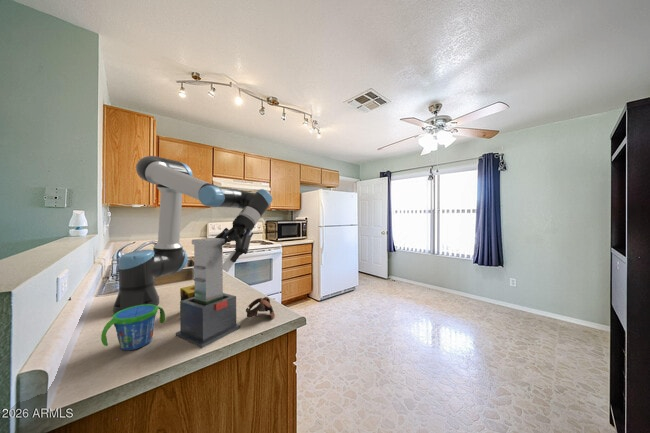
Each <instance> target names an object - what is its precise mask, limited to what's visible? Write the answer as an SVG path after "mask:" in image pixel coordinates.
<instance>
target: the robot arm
mask: <svg viewBox="0 0 650 433" xmlns="http://www.w3.org/2000/svg"><path fill="white" fill-rule="evenodd" d="M135 170H136V173H137V176H138V177H139V178H141V180H143V181H145V182H147V183H149V184H153V185H156V188H157V190H159V191H160V199H159V200H160V201H159V214H158V232H157V243H156V244H154V245H153V249H140V250H133V251H130V252H127V253H124V254H122V255H121V256H120V257H119V259H118V266H117V269H118V294H117V296H116V298H115V302H114V303H113V308H112V309H113V310H112V311H113V313H114V314H115V313H117V312H119V311H121V310H123V309H126V308H129V307H133V306H138V305H146V304H152V305H156V306H158V305H159V304H160V296H159V294H158V292H157V289H156V287H155V279H156V278H160V277H162V276H167V275H172V274H175V273H177V272H180V271H182V270H183V269H184V268H185V267H186V265H187V263H188V253H187V252H186V251H187V250H185V249H184V248H183V247H184V246H183V245H182V244H181V243H180V238H181V236H180V235H181V234H180V233H181V222H182V207H183V206H182V205H183V195H186V196H189V197H191V198H192V199H195V200H198V201H199V202H200V203H201V204H202V205H203V206H205V207H210V208H230V209H231V208H233V209H234V208H237V209H241V211H240V212H239V213H238V214H237V216H236V217H235V218H234V219H233V221H232V227H231V228H230V229H228V227H224V229H223V230H222V231H221V232H220V233H219V234H218V235H216V236H214V238H221V239H225V243H222V246H224V245H226V244H227V243H230V242H235V248H233V249H234V250H232V251H231V253H230V254H229V255H228V257H227V258H226V260H224V262H222V266H221V268H222V269H223V271H225V273H228V272H229V271H230V269H231V268H233V266H234V264H235V263H236V262H237V260H238V259H239V257H240V256H243V254H244V255H246V254H248V252H249V247H250V244H251V239H252V237H253V235H254V232H253V229H254V228H255V226H256V224H257V223H258V222H259V221H260V219H261V218H262V216H263V215H264V214H265V212H266V211H267V209H269V207H270V205H271V203H273V196H272V194H271V192H269V191H268V190H266V189H262V188H261V189H258V190H257V191H256V192H255V193H254V192H250V191H249V192H248V191H244V190H242V189H238V188H231V187H230V188H227V187H221V186H218V185H215V184H213V183H210V182H208V181H205V180H203V179H200V178H197V177H195V176H194V174H193V171H192V169H191V167H190V166H189V165H188V164H186V163H183V162H181V161H179V160H173V159H169V158H164V157H160V156H156V155H147V156H144V157H141V158H140V159H139V160H138V161H137V163H136V165H135Z"/></svg>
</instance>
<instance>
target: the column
mask: <svg viewBox="0 0 650 433" xmlns="http://www.w3.org/2000/svg"><path fill="white" fill-rule="evenodd" d="M222 243H225V239H221V238H215V237H208V238H197V239H195V238H194V239H191V245H193V252H194V256H193V258H194V262H193V263H194V265H193V270H194V278H193V281H194V285H195V291H194V293H195V298H194V303H197V304H200V305H203V306H206V305H208V304H211V303H214V302H217V301H219V300H222V299H223V293H224V292H223V290H224V289H223V286H224V285H223V280H224V279H223V271H224V269H222V268H221V266H222V265H223V245H222Z"/></svg>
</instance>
